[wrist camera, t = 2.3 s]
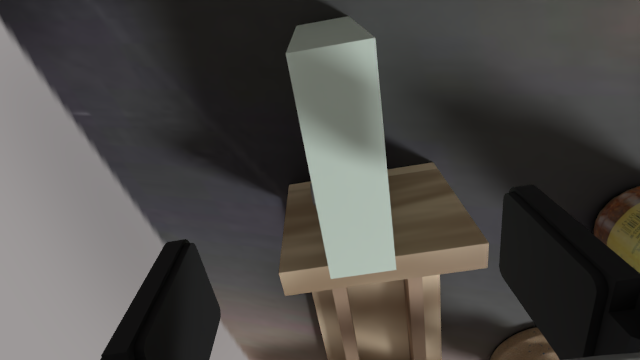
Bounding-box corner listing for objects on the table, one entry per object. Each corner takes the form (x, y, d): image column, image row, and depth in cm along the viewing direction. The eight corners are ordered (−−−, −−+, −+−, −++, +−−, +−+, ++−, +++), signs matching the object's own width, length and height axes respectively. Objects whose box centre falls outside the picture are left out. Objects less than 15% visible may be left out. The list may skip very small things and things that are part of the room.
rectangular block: (287, 27, 21) (270, 56, 12) (348, 16, 21) (375, 37, 12) (317, 179, 26) (320, 280, 17) (367, 171, 26) (396, 269, 17)
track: (288, 184, 26) (278, 273, 18) (433, 162, 25) (488, 243, 17) (334, 382, 36) (341, 494, 28) (438, 369, 35) (475, 480, 27)
